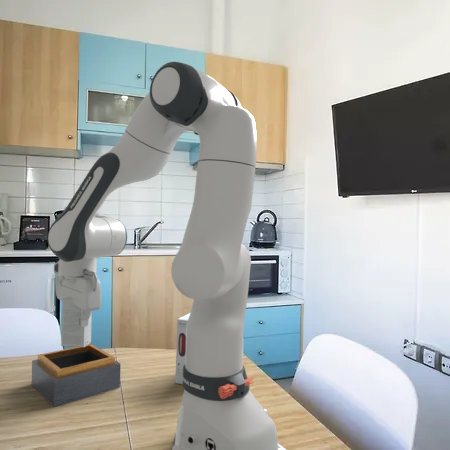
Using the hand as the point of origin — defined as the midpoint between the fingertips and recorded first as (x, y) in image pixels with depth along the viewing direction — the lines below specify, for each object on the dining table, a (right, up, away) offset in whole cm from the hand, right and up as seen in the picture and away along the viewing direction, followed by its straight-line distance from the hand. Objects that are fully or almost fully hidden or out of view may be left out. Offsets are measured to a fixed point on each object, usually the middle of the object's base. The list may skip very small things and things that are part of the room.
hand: (76, 322), depth 96 cm
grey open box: (-1, -16, +1) cm, 16 cm away
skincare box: (0, -6, 0) cm, 6 cm away
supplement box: (+30, -17, +5) cm, 35 cm away
